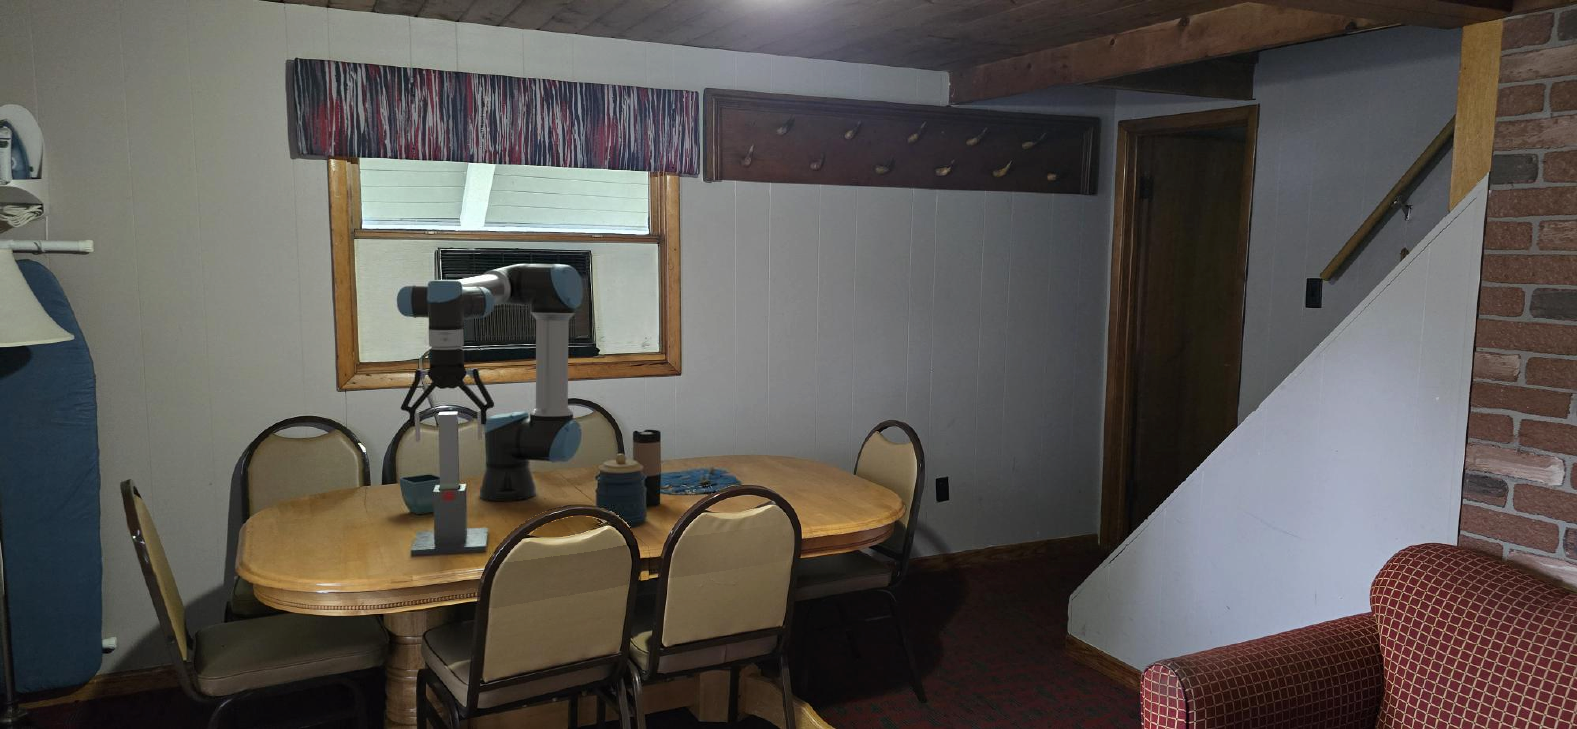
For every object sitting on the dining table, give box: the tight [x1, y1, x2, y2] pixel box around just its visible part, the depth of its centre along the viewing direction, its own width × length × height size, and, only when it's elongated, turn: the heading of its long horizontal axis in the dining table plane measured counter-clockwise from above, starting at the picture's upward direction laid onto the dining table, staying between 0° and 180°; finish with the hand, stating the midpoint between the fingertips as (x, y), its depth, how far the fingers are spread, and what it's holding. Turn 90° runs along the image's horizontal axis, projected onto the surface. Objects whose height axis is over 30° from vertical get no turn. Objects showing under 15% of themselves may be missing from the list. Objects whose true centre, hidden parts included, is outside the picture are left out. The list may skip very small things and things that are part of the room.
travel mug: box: [632, 429, 662, 508], centre depth 276 cm, size 8×8×20 cm
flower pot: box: [398, 473, 440, 515], centre depth 266 cm, size 9×9×9 cm
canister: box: [594, 453, 648, 528], centre depth 257 cm, size 13×13×18 cm
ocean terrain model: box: [660, 465, 741, 495], centre depth 302 cm, size 30×30×5 cm
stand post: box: [437, 411, 461, 491], centre depth 235 cm, size 4×4×23 cm
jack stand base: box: [410, 483, 489, 558], centre depth 236 cm, size 16×16×14 cm
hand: (449, 439), depth 234 cm, fingers open, 13 cm apart
